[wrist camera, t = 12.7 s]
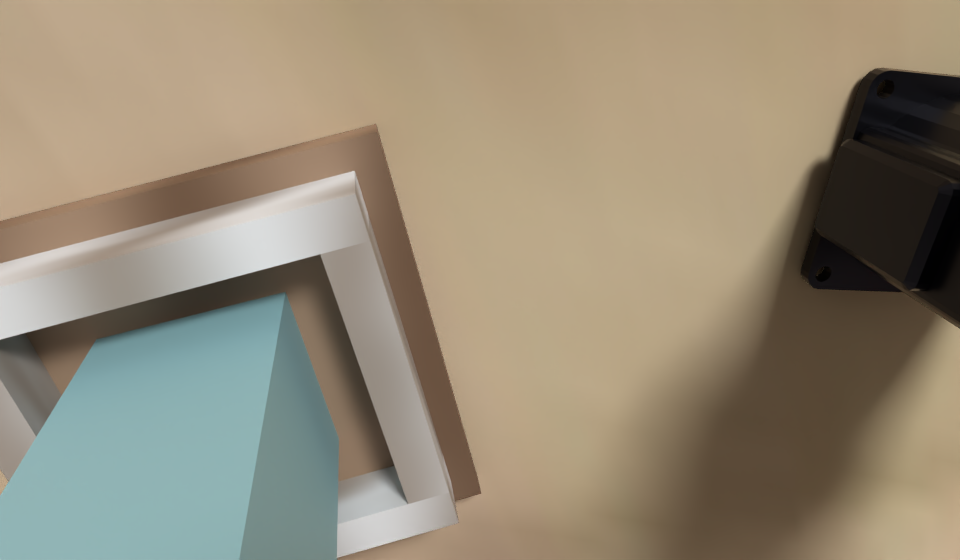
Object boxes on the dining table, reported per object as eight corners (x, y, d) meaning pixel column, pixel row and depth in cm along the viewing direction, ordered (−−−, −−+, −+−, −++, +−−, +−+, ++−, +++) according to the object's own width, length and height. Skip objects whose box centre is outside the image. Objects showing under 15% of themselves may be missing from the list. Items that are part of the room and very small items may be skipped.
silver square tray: (376, 124, 19) (379, 151, 16) (477, 476, 24) (491, 535, 22) (-98, 246, 18) (-163, 293, 16) (115, 579, 24) (89, 650, 21)
